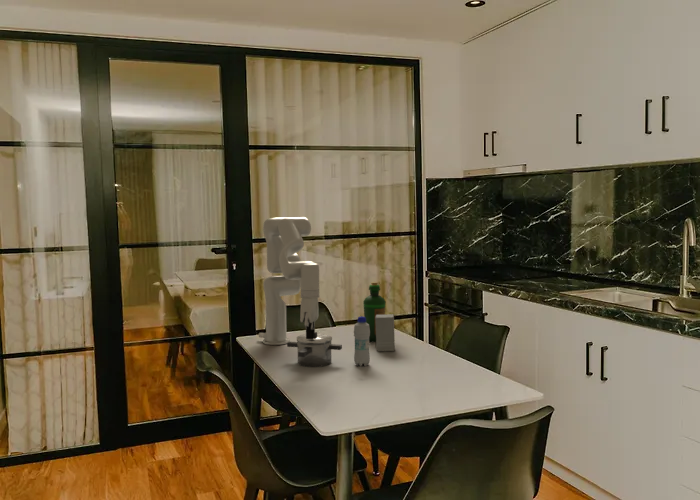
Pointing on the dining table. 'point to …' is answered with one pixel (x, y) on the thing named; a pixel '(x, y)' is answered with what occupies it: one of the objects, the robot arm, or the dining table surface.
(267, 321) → the robot arm
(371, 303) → the bottle
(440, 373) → the dining table surface
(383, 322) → the skincare box
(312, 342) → the lid
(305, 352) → the cooker
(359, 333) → the bottle
